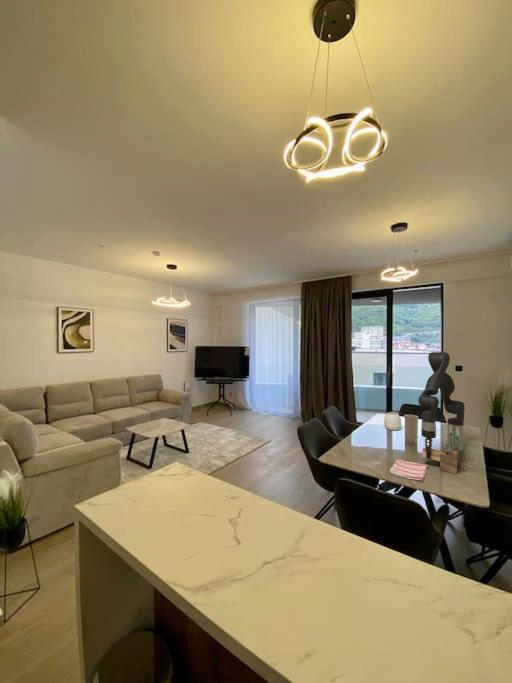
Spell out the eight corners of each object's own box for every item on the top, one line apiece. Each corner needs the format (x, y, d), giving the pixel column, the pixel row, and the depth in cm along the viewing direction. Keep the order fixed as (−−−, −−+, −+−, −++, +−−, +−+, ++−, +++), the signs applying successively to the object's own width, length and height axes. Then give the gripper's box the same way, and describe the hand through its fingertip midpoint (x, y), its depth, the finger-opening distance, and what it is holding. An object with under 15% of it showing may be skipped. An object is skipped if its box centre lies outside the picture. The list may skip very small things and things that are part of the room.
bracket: (459, 468, 173) (459, 434, 173) (445, 465, 177) (445, 432, 177) (458, 453, 196) (458, 423, 196) (445, 451, 200) (445, 421, 200)
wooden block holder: (440, 464, 180) (440, 441, 180) (457, 467, 176) (457, 443, 176) (440, 470, 171) (440, 446, 171) (457, 474, 167) (457, 449, 167)
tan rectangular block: (423, 455, 182) (423, 446, 182) (446, 459, 176) (446, 450, 176) (422, 457, 179) (422, 448, 179) (446, 462, 173) (446, 452, 173)
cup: (403, 429, 252) (403, 413, 252) (398, 432, 243) (398, 416, 243) (387, 426, 261) (387, 410, 261) (381, 429, 252) (381, 413, 252)
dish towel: (388, 475, 167) (388, 468, 167) (397, 461, 186) (397, 456, 186) (422, 483, 157) (422, 477, 157) (428, 468, 176) (428, 462, 176)
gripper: (422, 425, 187) (422, 452, 187) (420, 430, 175) (420, 459, 175) (436, 426, 183) (436, 454, 183) (435, 432, 171) (435, 462, 171)
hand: (428, 457), depth 179 cm, fingers closed on tan rectangular block, 4 cm apart
